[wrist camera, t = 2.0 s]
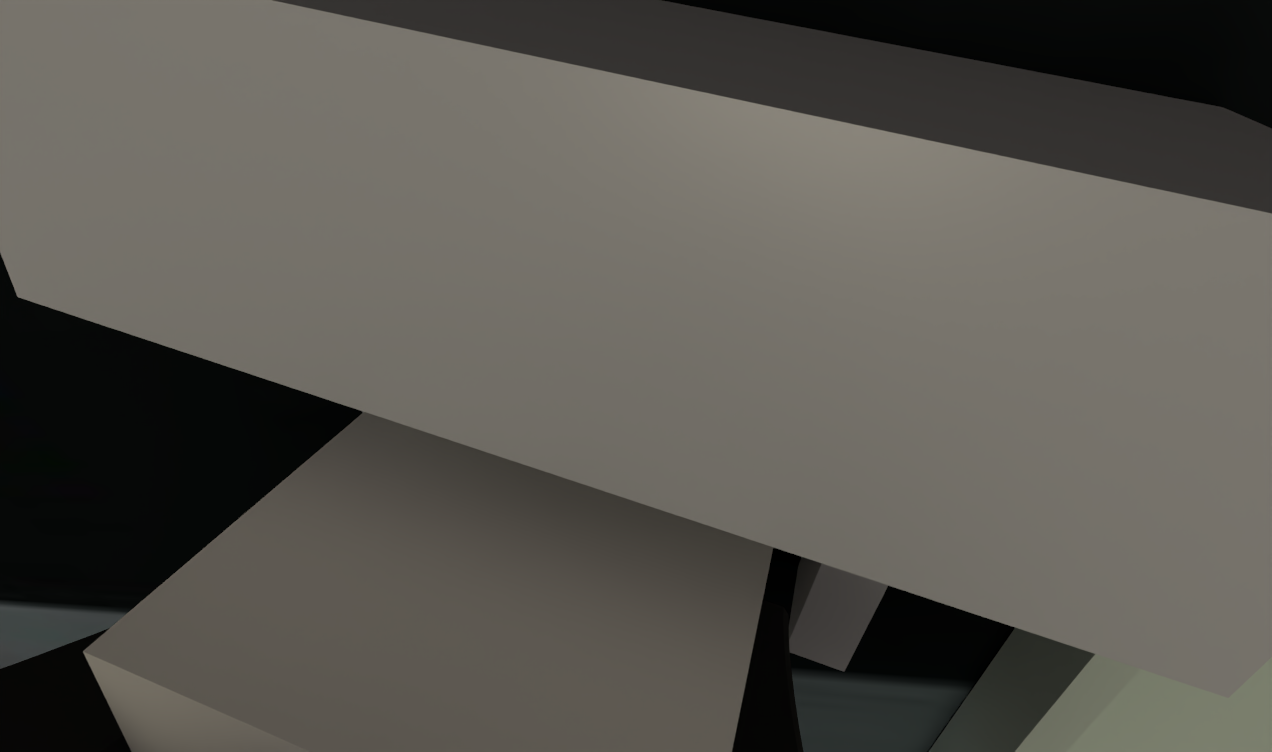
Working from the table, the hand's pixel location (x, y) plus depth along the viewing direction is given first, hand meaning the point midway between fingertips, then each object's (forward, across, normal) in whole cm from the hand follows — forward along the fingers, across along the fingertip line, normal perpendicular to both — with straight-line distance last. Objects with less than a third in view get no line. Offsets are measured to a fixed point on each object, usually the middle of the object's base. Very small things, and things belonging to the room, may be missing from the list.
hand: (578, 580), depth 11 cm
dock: (+3, 0, -3) cm, 5 cm away
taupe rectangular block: (+3, 0, 0) cm, 3 cm away
